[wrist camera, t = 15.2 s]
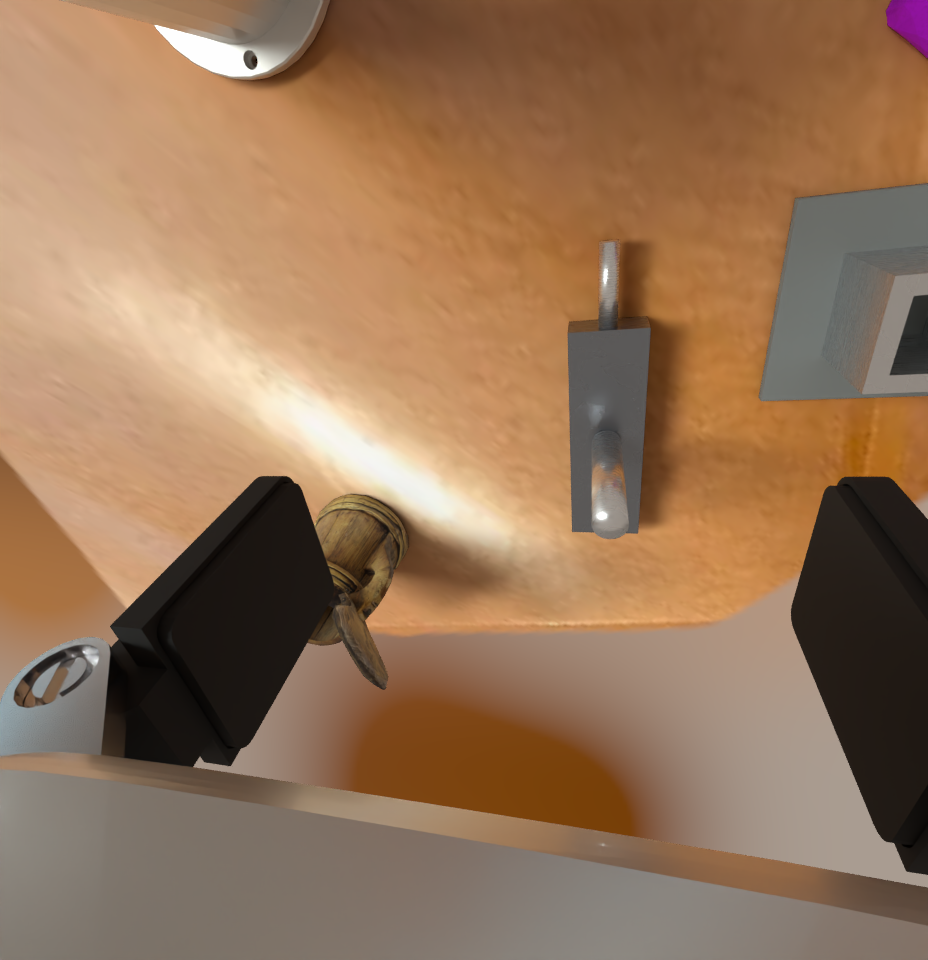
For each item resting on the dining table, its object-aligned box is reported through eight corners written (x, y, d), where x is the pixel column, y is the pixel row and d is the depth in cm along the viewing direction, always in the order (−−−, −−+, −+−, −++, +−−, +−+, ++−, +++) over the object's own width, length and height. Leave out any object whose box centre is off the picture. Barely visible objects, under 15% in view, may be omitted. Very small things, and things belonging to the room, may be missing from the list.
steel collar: (844, 253, 29) (895, 275, 24) (973, 240, 28) (1054, 262, 23) (820, 355, 32) (861, 394, 28) (935, 349, 31) (999, 389, 26)
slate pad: (795, 198, 29) (798, 199, 28) (1063, 167, 26) (1072, 168, 26) (758, 397, 35) (761, 401, 35) (971, 390, 32) (977, 394, 32)
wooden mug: (467, 546, 48) (411, 727, 33) (350, 575, 53) (258, 742, 38) (422, 468, 44) (336, 633, 29) (302, 507, 49) (178, 664, 35)
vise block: (567, 241, 32) (556, 285, 23) (651, 232, 31) (679, 275, 21) (573, 513, 43) (567, 622, 34) (635, 514, 42) (648, 628, 32)
